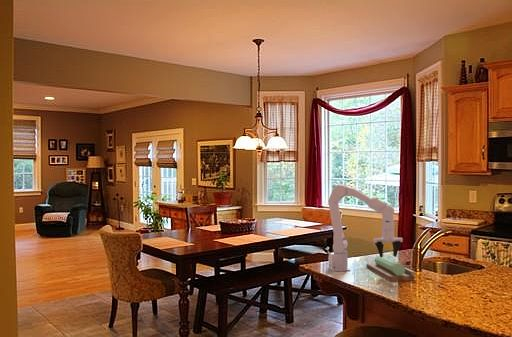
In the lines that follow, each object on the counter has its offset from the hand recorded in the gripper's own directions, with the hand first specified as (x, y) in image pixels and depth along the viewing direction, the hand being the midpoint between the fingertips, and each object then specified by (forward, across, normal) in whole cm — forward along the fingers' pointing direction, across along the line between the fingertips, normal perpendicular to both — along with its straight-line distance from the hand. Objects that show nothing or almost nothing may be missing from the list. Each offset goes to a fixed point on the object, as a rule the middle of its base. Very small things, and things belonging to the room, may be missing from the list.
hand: (388, 256), depth 223 cm
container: (+7, 0, 0) cm, 7 cm away
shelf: (+8, 0, 0) cm, 8 cm away
